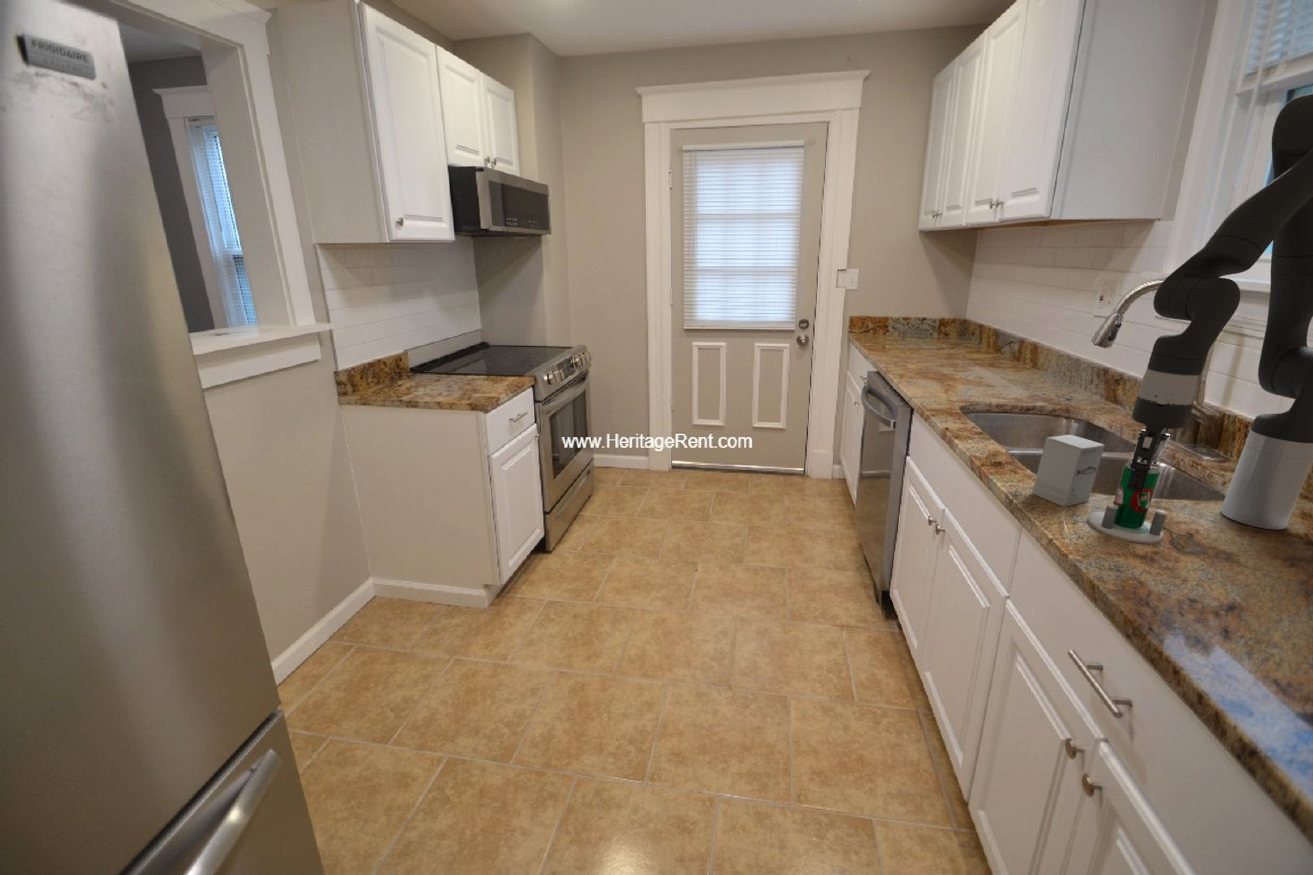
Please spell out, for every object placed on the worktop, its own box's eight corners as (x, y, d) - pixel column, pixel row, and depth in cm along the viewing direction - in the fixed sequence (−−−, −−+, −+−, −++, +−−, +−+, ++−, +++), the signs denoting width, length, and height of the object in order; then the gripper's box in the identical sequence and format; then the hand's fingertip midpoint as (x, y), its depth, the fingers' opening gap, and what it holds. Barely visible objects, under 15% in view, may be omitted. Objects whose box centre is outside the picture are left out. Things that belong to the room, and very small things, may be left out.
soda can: (1109, 514, 112) (1126, 456, 108) (1142, 523, 109) (1162, 462, 105) (1107, 524, 108) (1125, 463, 104) (1142, 532, 105) (1162, 470, 101)
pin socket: (1095, 510, 116) (1102, 486, 114) (1166, 530, 109) (1175, 505, 107) (1081, 527, 109) (1088, 502, 107) (1156, 549, 101) (1165, 523, 100)
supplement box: (1065, 507, 117) (1081, 448, 113) (1030, 493, 124) (1044, 436, 119) (1089, 502, 120) (1106, 444, 116) (1054, 488, 126) (1069, 433, 122)
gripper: (1145, 386, 108) (1122, 468, 113) (1130, 399, 99) (1104, 488, 104) (1199, 394, 103) (1172, 479, 108) (1188, 409, 93) (1158, 501, 99)
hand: (1139, 484), depth 106 cm, fingers open, 8 cm apart
